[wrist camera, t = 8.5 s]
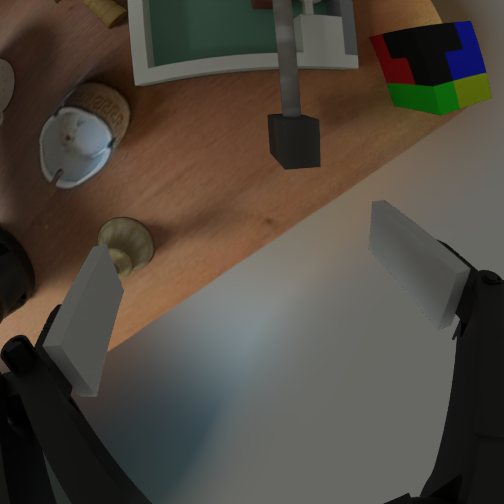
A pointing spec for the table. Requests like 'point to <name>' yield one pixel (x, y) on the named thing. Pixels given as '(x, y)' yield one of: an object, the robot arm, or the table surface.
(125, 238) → the hand bell
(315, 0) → the ball
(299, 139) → the striker
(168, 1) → the pitch
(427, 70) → the puzzle toy
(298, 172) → the table surface
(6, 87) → the teacup with lid
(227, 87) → the table surface
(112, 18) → the kendama
